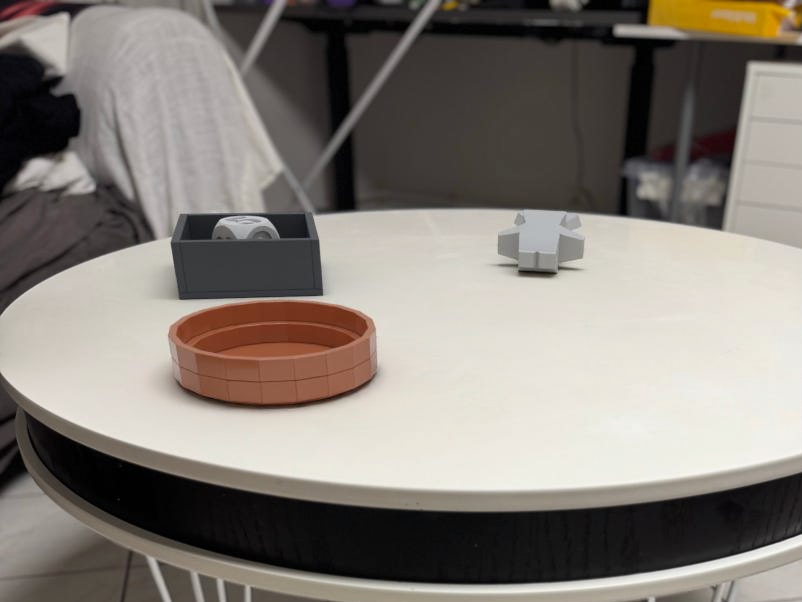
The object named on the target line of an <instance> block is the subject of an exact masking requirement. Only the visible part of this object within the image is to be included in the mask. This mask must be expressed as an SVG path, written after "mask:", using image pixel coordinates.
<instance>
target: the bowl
mask: <svg viewBox="0 0 802 602" xmlns="http://www.w3.org/2000/svg"><path fill="white" fill-rule="evenodd" d="M167 341H168V345H169V353H170V356H171V363H172V369H173V375H174V378H175V380H177V382H178V383H179V384H180V385H181V387H182V388H185V389H187V390H189V391H192V392H193V393H195V394H198V395H200V396H203V397H208V398H210V399H213V400H214V399H215V400H217V401H222V402H227V403H233V404H243V405H253V406H254V405H255V406H256V405H257V406H277V405H293V404H302V403H308V402H315V401H319V400H320V401H321V400H324V399H328V398H331V397H335V396H338V395H341V394H344V393H347V392H349V391H352V390H354V389H356V388H358V387H360V386H361V385H363V384H364V383H366V382H368V381H369V380H371V379H372V378H373V376H374V375H375V373H376V372H377V370H378V368H379V367H378V349H377V348H378V345H377V327H376V325H375V322H374V320H373V318H372V317H370V316H368V315H367V314H366V313H364V312H363V311H361V310H358V309H354V308H351V307H348V306H345V305H341V304H336V303H329V302H323V301H317V300H316V301H315V300H303V299H302V300H301V299H265V300H264V299H257V300H250V301H249V300H248V301H241V302H232V303H225V304H220V305H216V306H211V307H207V308H202V309H199V310H197V311H194V312H192V313H188V314H186V315H183V316H181V317H180V318H179V319H177V320H176V321H175V322H173V323H172V324H171V325H170V326H169V328H168V333H167Z"/></svg>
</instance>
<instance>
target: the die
mask: <svg viewBox="0 0 802 602" xmlns="http://www.w3.org/2000/svg"><path fill="white" fill-rule="evenodd" d="M223 239H280V237H279V235H278V232H277V230H276V229H275V227H274V226H273V224H272V223H271V222H270V221H269V220H268V219H266V218H263V217H258V216H233V217H227V218H223V219H221V220H219V222H218V223H217V225H216V226H215V228H214V231H213V234H212V240H223Z"/></svg>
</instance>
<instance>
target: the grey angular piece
mask: <svg viewBox="0 0 802 602" xmlns="http://www.w3.org/2000/svg"><path fill="white" fill-rule="evenodd" d="M513 224H514V225H516V226H514V227H511V228H507V229H504V230H501V231H498V232H497V255H500V256H503V257H507V258H510V259H513V260H516V261H518V263H517V271H519V272H520V271H521V272H522V271H523V272H537V273H538V272H539V273H555V274H557V273H558V269H559V264H561V263H567V262H572V261H577V260H582V259H583V258H584V253H585V252H584V251H585V242H586V241H585V240H586V238H585V236H584V235H581V234H579V233H577V232H575V231H573V230H577V229H579V228H580V229H581V227H582V222H581V218H580V216H579V214H578V213H575V212H573V213H571V212H570V213H567V211H563V210H541V209H524V210H519V211H518V212H517V214H516V216H515V219H514V221H513Z"/></svg>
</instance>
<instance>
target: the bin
mask: <svg viewBox="0 0 802 602" xmlns="http://www.w3.org/2000/svg"><path fill="white" fill-rule="evenodd" d="M233 216H258V217H263V218H266V219H268V220H269V221H270V222H271V223H272V224H273V226H274V227H275V229H276V230H277V232H278V235H279V237H280V239H223V240H212V234H213V231H214V228H215V226H216V225H217V223H218V222H219V220H221V219H223V218H227V217H233ZM319 237H320V236H319V234H318V230H317V226H316V222H315V218H314V215H313V212H311V211H296V212H295V211H292V212H289V211H288V212H284V211H283V212H220V213H219V212H216V213H215V212H214V213H213V212H212V213H211V212H209V213H207V212H206V213H205V212H204V213H203V212H202V213H180V214H179V216H178V219H177V222H176V225H175V228H174V230H173V234H172V236H171V239H170V250H171V255H172V261H173V267H174V275H175V280H176V284H177V286H176V287H177V292H178V298H179V300H193V299H196V300H199V299H228V298H229V299H231V298H233V299H234V298H265V297H298V296H299V297H300V296H301V297H302V296H323V295H324V288H323V287H324V286H323V285H324V284H323V272H322V259H321V258H322V257H321V245H320V244H321V243H320V238H319ZM198 298H199V299H198Z"/></svg>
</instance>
